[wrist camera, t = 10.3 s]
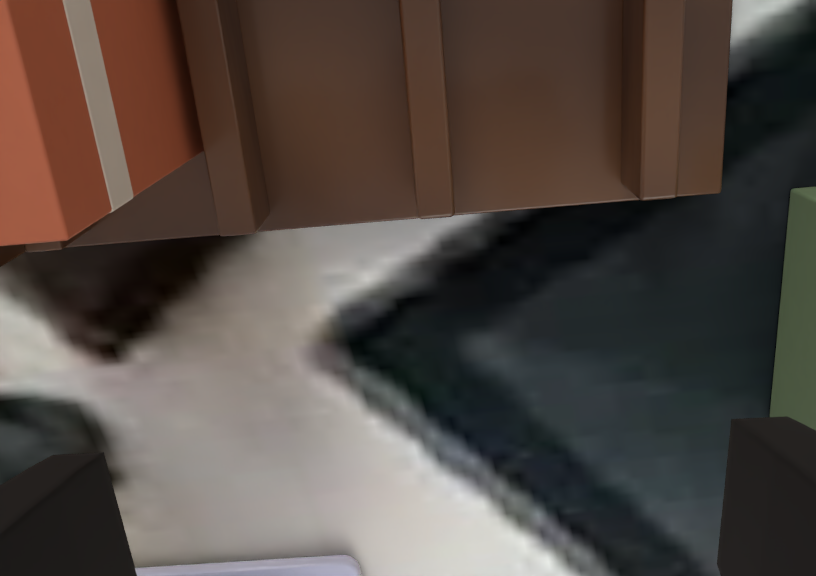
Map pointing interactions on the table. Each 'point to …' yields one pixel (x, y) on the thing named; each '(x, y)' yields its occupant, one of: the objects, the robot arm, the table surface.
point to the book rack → (433, 112)
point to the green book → (797, 316)
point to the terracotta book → (88, 110)
